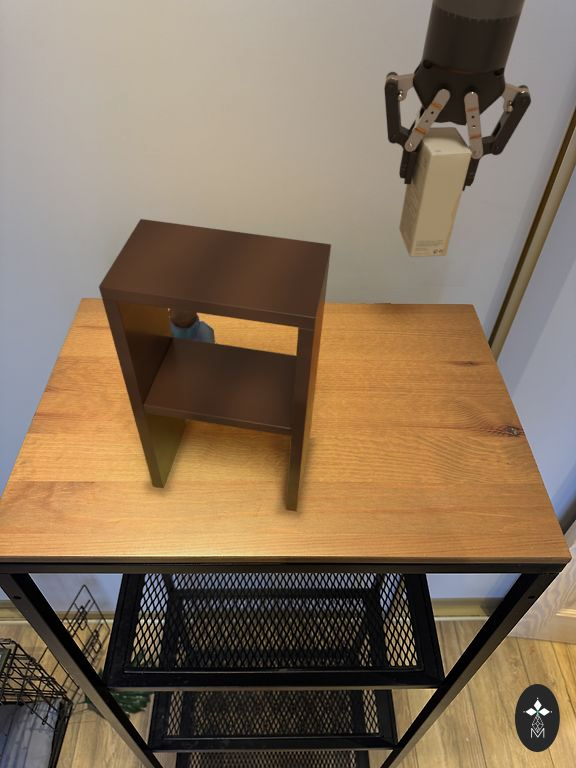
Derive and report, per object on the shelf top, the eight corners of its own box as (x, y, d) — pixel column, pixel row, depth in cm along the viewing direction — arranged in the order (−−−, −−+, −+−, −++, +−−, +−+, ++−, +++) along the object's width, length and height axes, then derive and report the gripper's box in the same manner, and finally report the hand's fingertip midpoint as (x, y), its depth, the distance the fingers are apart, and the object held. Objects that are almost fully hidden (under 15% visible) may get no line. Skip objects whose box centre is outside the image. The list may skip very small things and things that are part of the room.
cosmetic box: (445, 257, 65) (475, 155, 56) (407, 258, 65) (431, 155, 56) (432, 225, 69) (457, 125, 60) (396, 226, 69) (416, 126, 60)
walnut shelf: (309, 444, 67) (331, 243, 46) (296, 512, 61) (315, 318, 40) (177, 422, 69) (140, 218, 47) (152, 486, 63) (98, 286, 42)
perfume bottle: (168, 365, 75) (156, 294, 65) (216, 363, 75) (210, 292, 66) (166, 402, 70) (152, 332, 61) (217, 400, 71) (210, 330, 62)
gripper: (391, 6, 47) (364, 194, 60) (571, 22, 45) (504, 211, 58) (395, -20, 52) (370, 159, 65) (558, -6, 50) (499, 174, 63)
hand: (434, 183), depth 61 cm, fingers closed on cosmetic box, 5 cm apart
